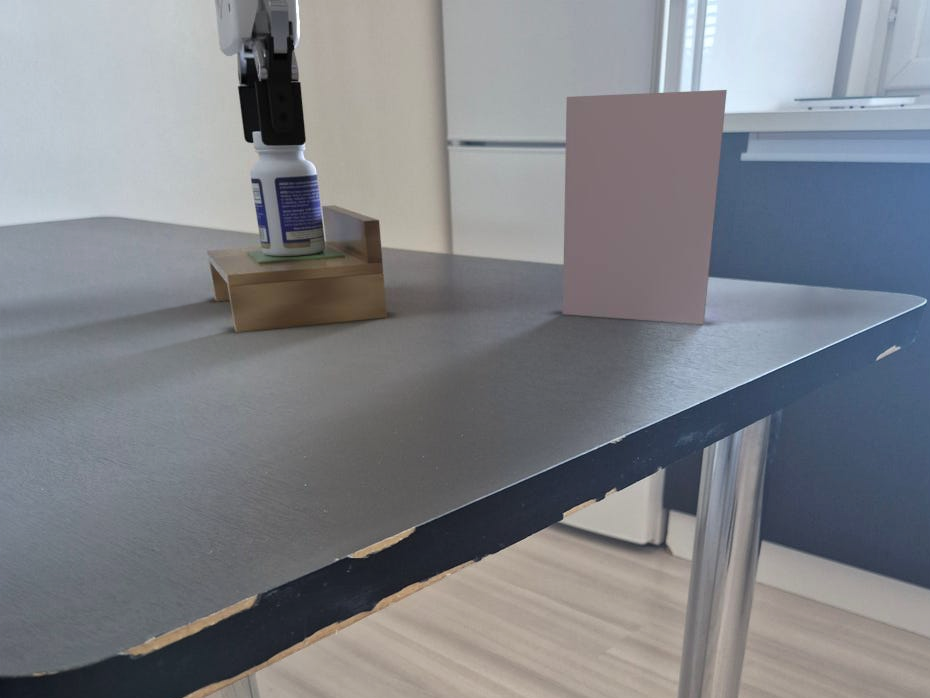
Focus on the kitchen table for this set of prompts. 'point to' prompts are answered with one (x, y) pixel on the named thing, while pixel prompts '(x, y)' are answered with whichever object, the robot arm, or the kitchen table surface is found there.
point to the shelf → (306, 278)
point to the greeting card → (641, 204)
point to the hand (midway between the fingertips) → (274, 143)
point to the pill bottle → (286, 200)
